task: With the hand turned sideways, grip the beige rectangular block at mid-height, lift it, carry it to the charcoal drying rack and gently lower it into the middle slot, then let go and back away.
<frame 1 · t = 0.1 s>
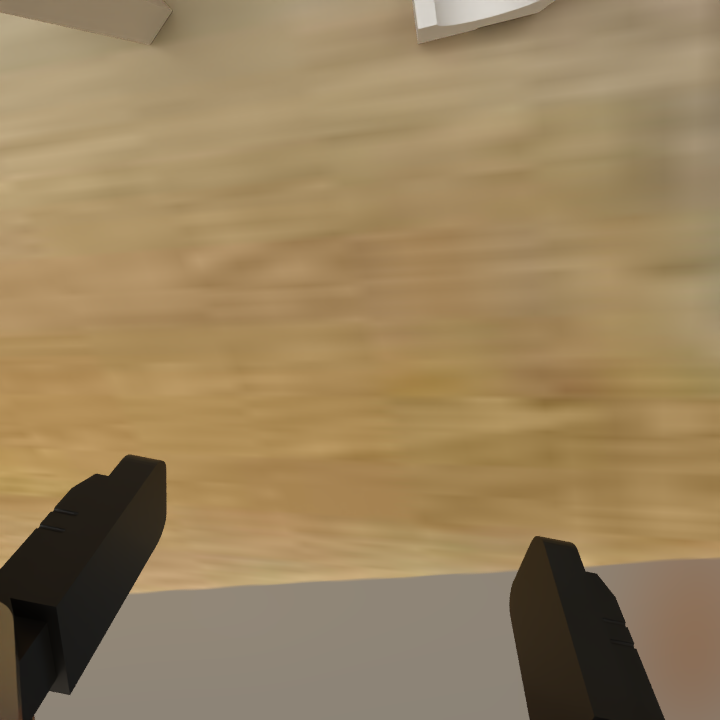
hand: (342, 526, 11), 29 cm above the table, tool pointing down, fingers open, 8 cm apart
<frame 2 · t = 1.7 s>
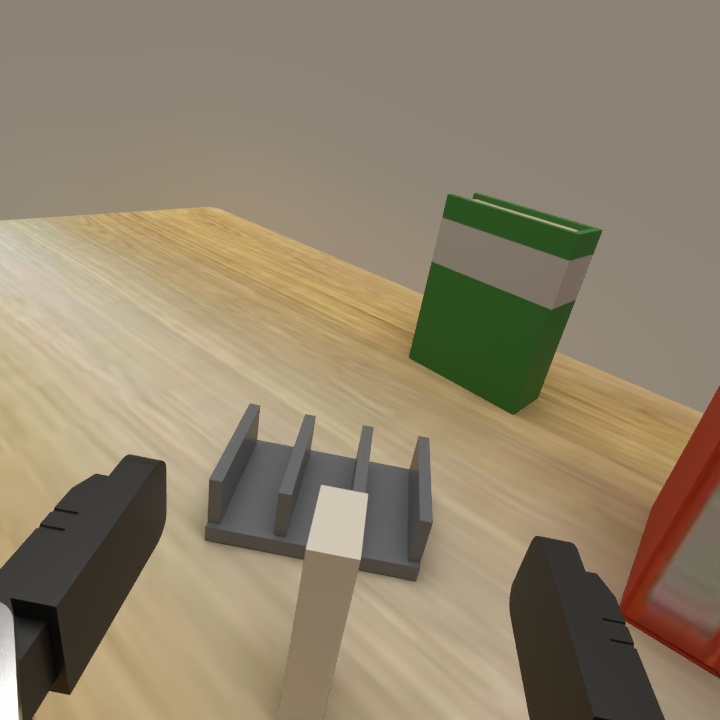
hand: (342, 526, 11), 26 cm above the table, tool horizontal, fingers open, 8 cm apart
drying rack: (322, 508, 47), on the table
beige rectangular block: (304, 690, 33), on the table
file binder: (677, 579, 47), on the table
hardback book: (470, 378, 75), on the table
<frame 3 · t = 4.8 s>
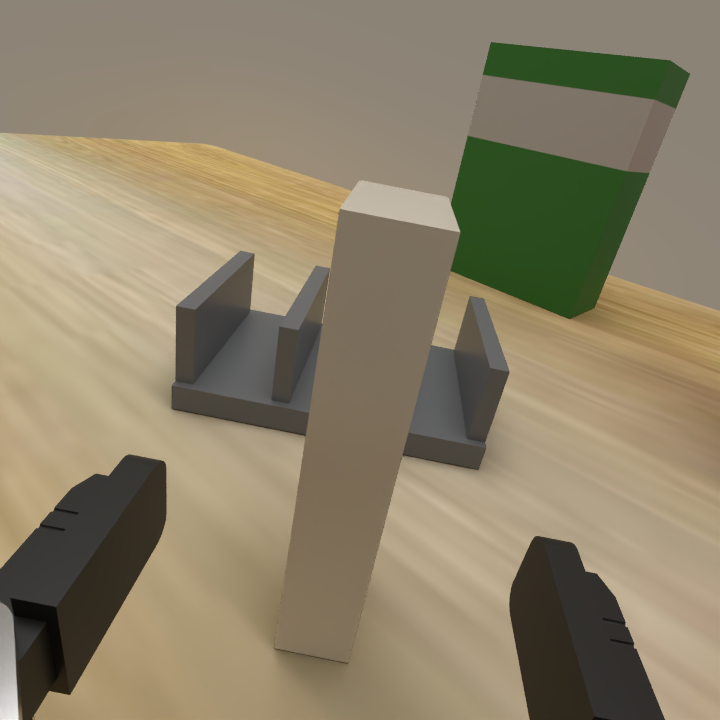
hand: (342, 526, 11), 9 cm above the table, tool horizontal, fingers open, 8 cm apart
drying rack: (338, 385, 34), on the table
beige rectangular block: (321, 599, 20), on the table
hardback book: (511, 287, 62), on the table
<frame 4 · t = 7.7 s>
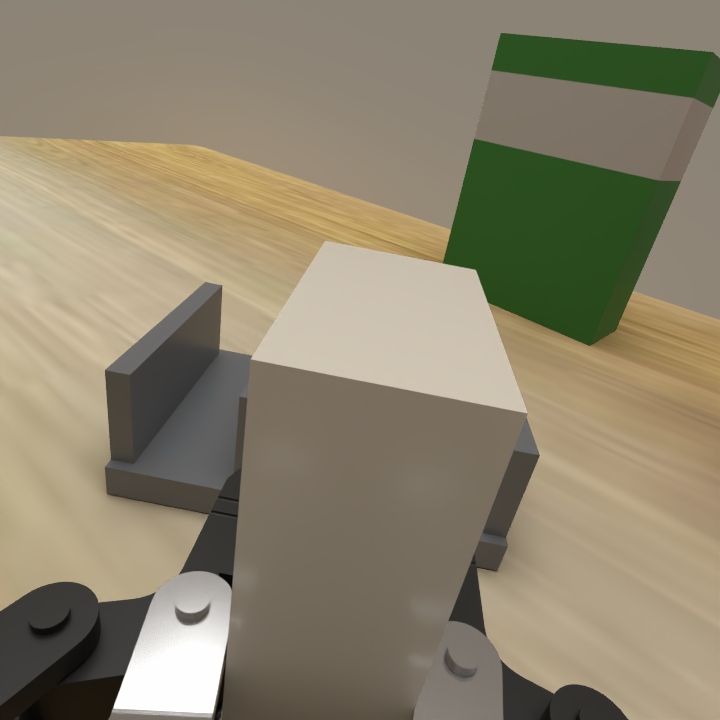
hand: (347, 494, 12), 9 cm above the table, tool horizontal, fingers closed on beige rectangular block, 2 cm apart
drying rack: (323, 449, 28), on the table
hardback book: (522, 306, 56), on the table
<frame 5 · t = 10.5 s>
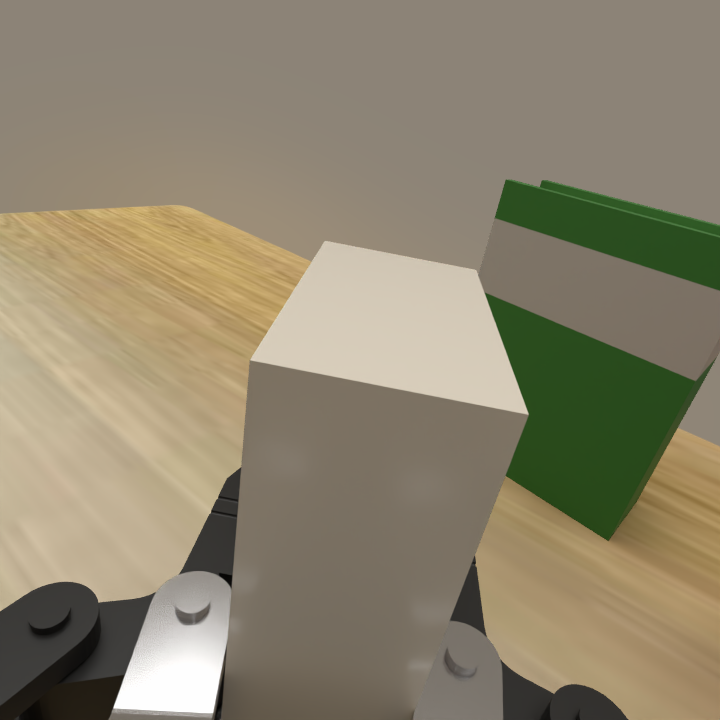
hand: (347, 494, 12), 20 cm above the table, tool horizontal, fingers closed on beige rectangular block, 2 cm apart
hardback book: (529, 465, 49), on the table
when the fingers open (12 cm above the table, at t = 13.4 s): beige rectangular block drops 1 cm, resting on drying rack.
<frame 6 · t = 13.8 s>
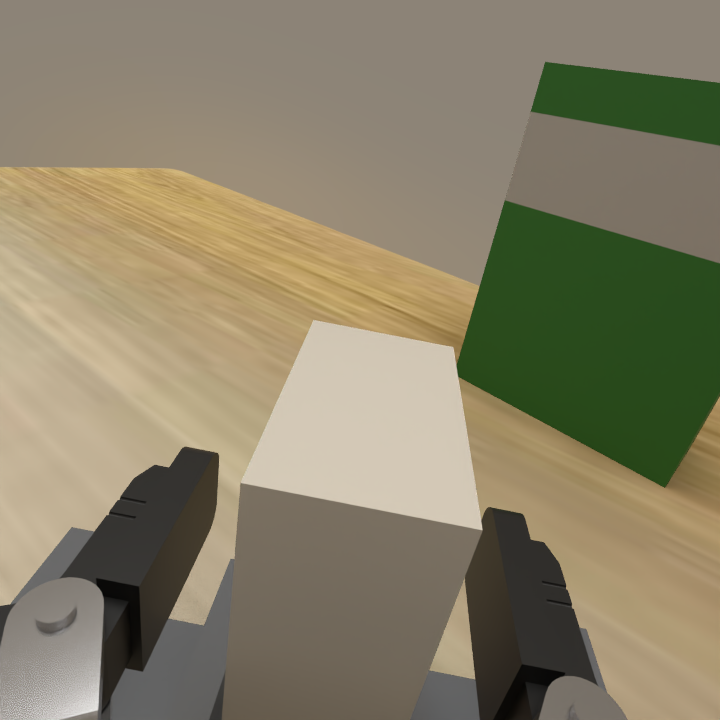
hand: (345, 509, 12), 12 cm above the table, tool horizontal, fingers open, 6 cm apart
hardback book: (564, 411, 43), on the table
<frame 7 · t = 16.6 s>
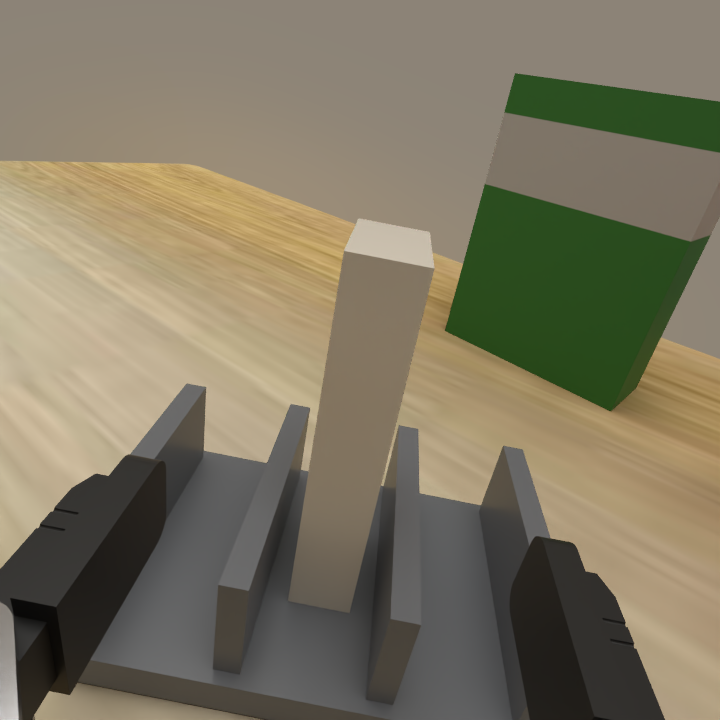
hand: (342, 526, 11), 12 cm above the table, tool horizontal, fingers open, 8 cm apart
drying rack: (321, 586, 24), on the table
beige rectangular block: (326, 563, 23), point 1 cm above the table, touching drying rack
hardback book: (535, 359, 52), on the table
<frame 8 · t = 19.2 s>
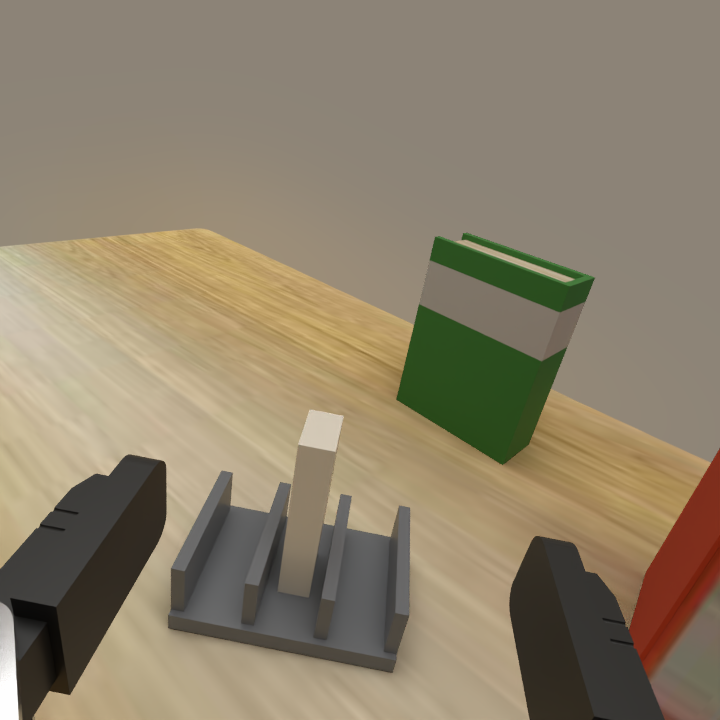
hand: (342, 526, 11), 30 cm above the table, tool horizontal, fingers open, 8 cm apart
drying rack: (296, 584, 45), on the table
beige rectangular block: (298, 572, 44), point 1 cm above the table, touching drying rack
file binder: (671, 661, 44), on the table
hardback book: (460, 422, 73), on the table
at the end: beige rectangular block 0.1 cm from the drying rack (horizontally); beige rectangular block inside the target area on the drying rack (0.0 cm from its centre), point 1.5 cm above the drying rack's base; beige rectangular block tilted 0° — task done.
